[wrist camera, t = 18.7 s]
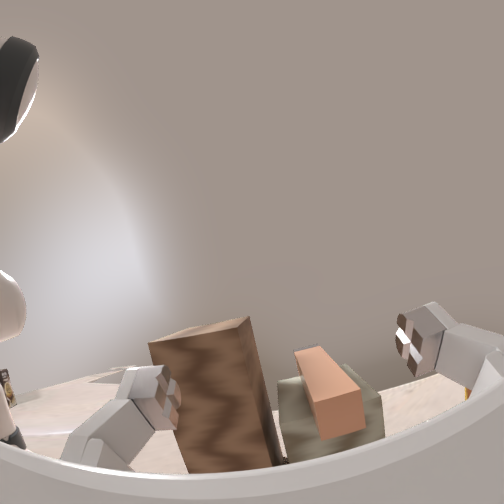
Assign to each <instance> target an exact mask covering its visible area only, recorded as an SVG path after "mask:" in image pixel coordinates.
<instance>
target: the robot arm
mask: <svg viewBox="0 0 504 504" xmlns="http://www.w3.org/2000/svg"><path fill="white" fill-rule="evenodd" d="M38 61H39V55H38V52H37V49H36V46H34V45H32V44H31V43H29V42H27V41H25V40H22V39H20V38H16V37H13V36H12V37H10V38H9V39H6V38H2V37H0V143H3V142H4V141H6V140H7V139H8V138H9V137H11V136H12V135H13V134H14V133H15V132H16V131H17V129H18V126H19V124H20V123H21V122H22V120H23V119H24V117H25V116H26V114H27V112H28V110H29V109H30V106H31V104H32V102H33V99H34V96H35V93H36V89H37V84H38V75H39V74H38ZM25 320H26V303H25V299H24V296H23V293H22V291H21V289H20V287H19V286H18V284H17V283H16V282H15V281H14V279H13V278H11V277H10V276H8V275H7V274H5V273H4V272H3V271H1V270H0V342H3V341H5V340H9V339H11V338H14V337H16V336H19V335H20V333H21V331H22V329H23V327H24V324H25ZM397 324H398V326H399V327H400V328H399V330H398V331H397V333H396V345H397V349H398V352H399V354H400V355H401V357H402V358H405V359H407V360H408V363H407V366H408V368H409V369H410V371H411V372H412V373H413V375H414V377H417V376H420V375H422V374H425V373H428V372H430V371H432V370H435V371H436V372H438V373H440V374H442V375H444V376H445V377H447V378H449V379H451V380H453V381H455V382H457V383H459V384H460V385H462V386H464V387H466V388H468V389H470V390H472V392H471V394H470V396H469V398H468V399H467V400H466V401H464V402H462V403H460V404H458V405H457V406H455V407H453V408H451V409H449V410H447V411H445V412H443V413H441V414H439V415H437V416H435V417H433V418H431V419H429V420H427V421H424V422H422V423H420V424H418V425H415V426H413V427H411V428H408V429H406V430H404V431H401V432H399V433H396V434H394V435H391V436H388V437H386V438H383V439H380V440H377V441H374V442H372V443H369V444H366V445H362V446H359V447H356V448H353V449H350V450H346V451H343V452H339V453H335V454H332V455H328V456H324V457H320V458H316V459H311V460H307V461H302V462H297V463H292V464H287V465H281V466H275V467H269V468H262V469H254V470H245V471H235V472H223V473H204V474H162V473H144V472H135V471H134V470H133V469H132V468H131V467H130V466H129V464H130V463H131V462H132V461H133V459H134V458H135V457H136V456H137V454H138V453H139V452H140V451H141V449H142V448H143V447H144V446H145V444H146V443H147V442H148V440H149V439H150V438H151V437H152V435H153V434H154V433H155V431H159V430H177V424H178V418H179V414H178V413H177V411H176V410H177V409H178V407H179V406H180V405H181V392H180V389H179V386H178V384H177V382H176V381H175V380H173V379H172V378H170V377H171V371H170V369H169V367H168V366H166V365H158V366H146V367H133V368H128V369H126V371H125V373H124V376H123V378H122V381H121V383H120V386H119V389H118V391H117V394H116V397H115V399H112V400H110V401H109V402H108V403H106V404H105V405H104V406H103V407H102V408H100V409H99V410H98V411H97V412H96V413H95V414H93V415H92V416H91V417H90V418H89V419H87V420H86V421H85V422H84V423H83V424H82V425H80V426H79V427H78V428H77V429H76V430H74V431H73V432H72V433H71V434H70V435H69V437H68V440H67V442H66V445H65V447H64V450H63V452H62V455H61V458H60V460H59V459H55V458H51V457H47V456H43V455H40V454H36V453H33V452H31V451H30V450H28V449H26V444H25V442H24V440H23V436H22V434H21V433H20V430H19V428H18V427H17V426H16V425H15V423H14V421H13V418H12V415H11V412H10V409H9V406H8V403H7V400H6V397H5V393H4V390H3V387H2V385H1V384H0V504H504V335H500V334H497V333H494V332H491V331H487V330H484V329H480V328H477V327H474V326H470V325H467V324H464V323H461V324H458V323H457V322H456V321H455V320H454V319H453V318H452V317H451V316H450V315H449V314H448V313H447V312H446V311H445V310H444V309H443V308H442V307H441V306H440V305H439V304H438V303H436V302H434V301H433V302H430V303H428V304H426V305H423V306H421V307H418V308H415V309H412V310H410V311H407V312H404V313H401V314H399V315H398V318H397Z"/></svg>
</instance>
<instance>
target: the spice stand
mask: <svg viewBox="0 0 504 504" xmlns="http://www.w3.org/2000/svg"><path fill="white" fill-rule="evenodd" d="M148 345H149V350H150V353H151V358H152V362H153V366H158V365H166V366H168V367H169V369H170V371H171V377H170V378H172V379H173V380H175V381H176V382H177V384H178V386H179V389H180V392H181V405H180V406H179V407H178V409H177V410H176V411H177V413H178V414H179V418H178V424H177V430H173V432H174V435H175V438H176V441H177V444H178V446H179V449H180V452H181V454H182V457H183V460H184V462H185V465H186V467H187V470H188V472H189V474H204V473H223V472H235V471H245V470H254V469H262V468H269V467H275V466H281V465H283V455H282V451H281V447H280V443H279V439H278V435H277V431H276V427H275V423H274V419H273V415H272V411H271V407H270V402H269V398H268V394H267V390H266V386H265V381H264V377H263V373H262V369H261V365H260V360H259V356H258V352H257V347H256V343H255V339H254V335H253V330H252V326H251V321H250V317H249V316H247V317H243V318H237V319H233V320H228V321H223V322H218V323H213V324H207V325H202V326H197V327H191V328H187V329H185V330H182V331H179V332H176V333H174V334H171V335H168V336H166V337H163V338H160V339H157V340H154V341H152V342H149V343H148ZM339 367H340V368H341V369H342V370H343V371H344V372H345V373H346V374H347V375H348V376H349V377H350V378H351V379H352V380H353V381H354V382H355V383H356V385H357V386H358V387H359V388H360V389H361V394H362V401H363V408H364V416H365V423H366V428H364V429H361V430H358V431H355V432H352V433H348V434H345V435H342V436H338V437H335V438H331V439H327V440H323V441H321V438H320V435H319V433H318V430H317V427H316V424H315V421H314V418H313V415H312V412H311V409H310V406H309V403H308V400H307V397H306V394H305V391H304V388H303V385H302V382H301V379H300V376H298V377H294V378H290V379H285V380H281V381H277V387H278V404H279V405H278V406H279V424H280V429H281V433H282V437H283V441H284V445H285V449H286V453H287V457H288V461H289V464H292V463H297V462H302V461H307V460H311V459H316V458H320V457H324V456H328V455H332V454H335V453H339V452H343V451H346V450H350V449H353V448H356V447H359V446H362V445H366V444H369V443H372V442H374V441H377V440H380V439H383V438H385V428H384V418H383V408H382V400H381V395H380V394H378V393H377V392H376V391H375V390H374V389H373V388H372V387H371V386H370V385H369V384H367V383H366V382H365V381H364V380H363V379H362V378H360V376H359V375H357V374H356V373H355V372H354V371H353V370H352V369H351V368H350V367H349V366H348V365H347V364H344V365H340V366H339Z"/></svg>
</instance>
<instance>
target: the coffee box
mask: <svg viewBox="0 0 504 504" xmlns="http://www.w3.org/2000/svg"><path fill="white" fill-rule="evenodd" d="M0 384H1V385H2V387H3V390H4V393H5V397H6V400H7V403H8V406H9V409H10V408H11V407H13V406H15V405H16V404H17V402H16V399H15V396H14V392H13V389H12V385H11V382H10V378H9V374H8V370H7V369H1V370H0Z"/></svg>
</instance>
